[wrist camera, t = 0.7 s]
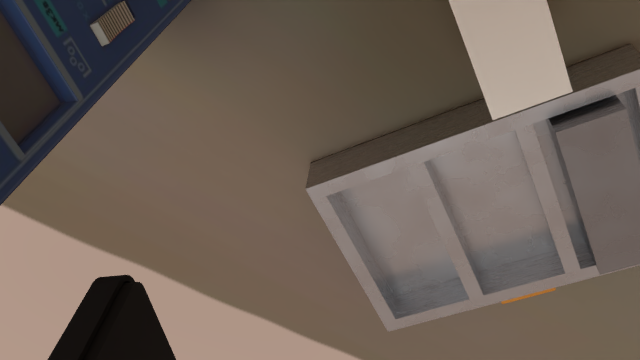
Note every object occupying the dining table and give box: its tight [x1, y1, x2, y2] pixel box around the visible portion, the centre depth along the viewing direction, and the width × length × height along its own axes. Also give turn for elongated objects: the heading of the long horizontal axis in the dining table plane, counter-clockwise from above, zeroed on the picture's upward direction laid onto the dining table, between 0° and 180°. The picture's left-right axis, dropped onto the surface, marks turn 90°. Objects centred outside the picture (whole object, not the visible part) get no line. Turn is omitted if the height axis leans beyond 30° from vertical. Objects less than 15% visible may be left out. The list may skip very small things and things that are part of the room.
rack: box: [306, 44, 640, 332], centre depth 31 cm, size 17×11×4 cm
